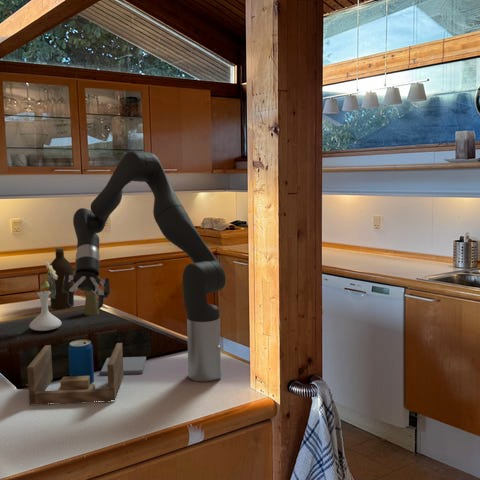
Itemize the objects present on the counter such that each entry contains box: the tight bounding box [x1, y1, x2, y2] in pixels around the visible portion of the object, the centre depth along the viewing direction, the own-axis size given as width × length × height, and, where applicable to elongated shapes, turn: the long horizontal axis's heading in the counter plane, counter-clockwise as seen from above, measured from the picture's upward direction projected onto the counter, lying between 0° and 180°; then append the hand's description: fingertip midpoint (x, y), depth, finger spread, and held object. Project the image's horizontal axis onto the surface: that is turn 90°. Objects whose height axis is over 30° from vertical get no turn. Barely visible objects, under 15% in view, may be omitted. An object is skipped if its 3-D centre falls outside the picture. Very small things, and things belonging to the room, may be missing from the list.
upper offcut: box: [59, 375, 90, 390], centre depth 157 cm, size 7×4×2 cm, turn 95°
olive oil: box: [47, 247, 75, 310], centre depth 253 cm, size 11×11×25 cm
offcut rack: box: [26, 342, 125, 406], centre depth 160 cm, size 22×18×10 cm
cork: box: [83, 290, 100, 317], centre depth 241 cm, size 6×6×11 cm
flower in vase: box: [29, 261, 63, 332], centre depth 219 cm, size 13×11×25 cm
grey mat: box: [100, 356, 147, 376], centre depth 178 cm, size 12×12×1 cm
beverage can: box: [67, 339, 95, 384], centre depth 164 cm, size 6×6×12 cm
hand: (85, 306), depth 182 cm, fingers open, 8 cm apart
